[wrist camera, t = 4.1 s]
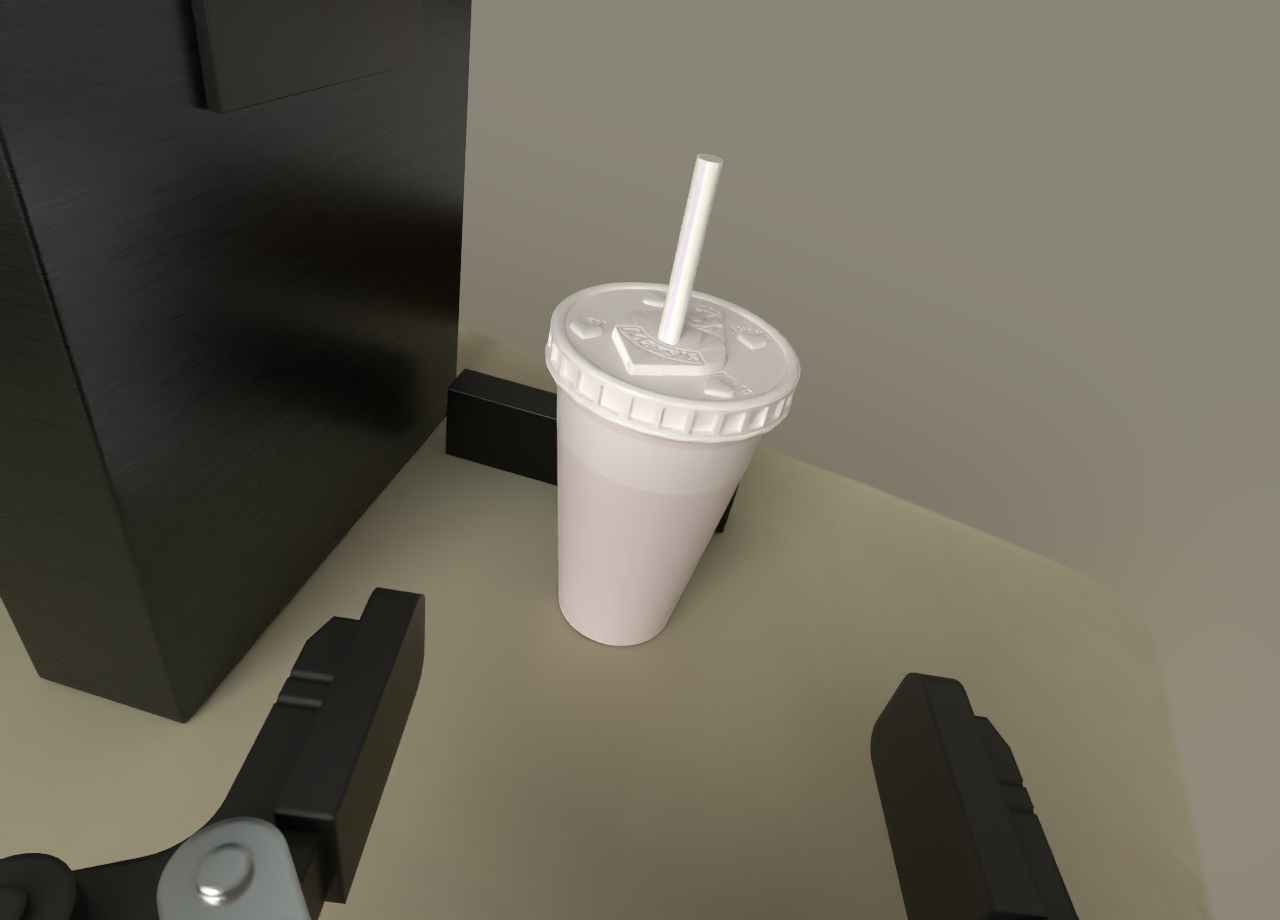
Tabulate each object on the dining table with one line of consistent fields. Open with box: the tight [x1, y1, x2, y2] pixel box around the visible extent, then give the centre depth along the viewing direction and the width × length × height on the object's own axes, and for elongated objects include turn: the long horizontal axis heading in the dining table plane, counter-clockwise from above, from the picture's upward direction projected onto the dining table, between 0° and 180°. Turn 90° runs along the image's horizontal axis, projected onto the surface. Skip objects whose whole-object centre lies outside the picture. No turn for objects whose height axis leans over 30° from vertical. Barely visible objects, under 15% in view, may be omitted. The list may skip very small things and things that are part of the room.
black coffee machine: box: [0, 0, 740, 723], centre depth 17 cm, size 16×16×25 cm
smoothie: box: [545, 154, 800, 646], centre depth 20 cm, size 6×6×14 cm
